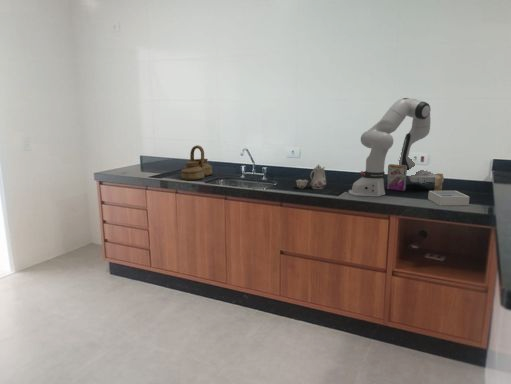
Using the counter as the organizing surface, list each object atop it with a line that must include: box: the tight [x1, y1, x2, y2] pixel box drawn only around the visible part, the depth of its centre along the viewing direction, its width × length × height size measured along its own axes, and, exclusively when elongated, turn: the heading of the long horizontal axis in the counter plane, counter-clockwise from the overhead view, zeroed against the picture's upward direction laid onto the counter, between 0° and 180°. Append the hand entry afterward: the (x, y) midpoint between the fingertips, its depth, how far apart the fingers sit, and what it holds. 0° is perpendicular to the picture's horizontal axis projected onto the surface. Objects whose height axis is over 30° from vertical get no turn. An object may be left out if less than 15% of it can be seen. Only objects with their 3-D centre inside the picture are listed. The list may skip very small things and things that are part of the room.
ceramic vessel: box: [180, 145, 213, 181], centre depth 322 cm, size 34×18×25 cm, turn 166°
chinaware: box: [295, 164, 328, 190], centre depth 281 cm, size 28×17×17 cm, turn 135°
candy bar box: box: [386, 163, 408, 192], centre depth 271 cm, size 11×5×16 cm, turn 56°
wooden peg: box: [433, 173, 444, 191], centre depth 250 cm, size 4×4×14 cm
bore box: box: [427, 190, 470, 207], centre depth 237 cm, size 16×16×5 cm
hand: (431, 180), depth 260 cm, fingers open, 8 cm apart
